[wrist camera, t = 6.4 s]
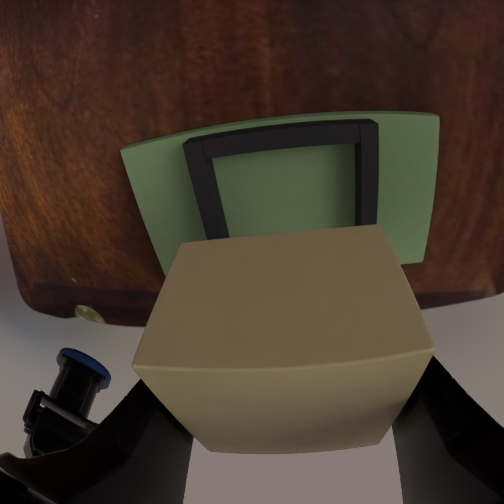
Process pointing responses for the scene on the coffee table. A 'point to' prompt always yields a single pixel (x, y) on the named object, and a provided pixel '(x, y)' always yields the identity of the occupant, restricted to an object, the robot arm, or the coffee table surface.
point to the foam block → (286, 341)
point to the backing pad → (289, 178)
